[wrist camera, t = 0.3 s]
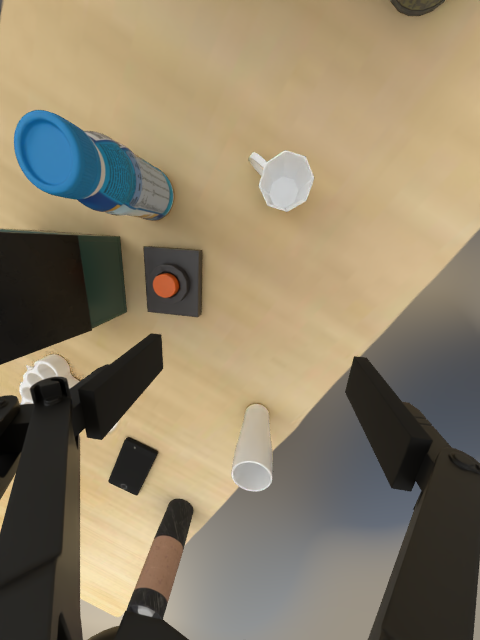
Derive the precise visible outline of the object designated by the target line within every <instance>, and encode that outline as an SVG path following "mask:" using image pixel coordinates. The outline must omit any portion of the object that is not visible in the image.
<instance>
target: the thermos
mask: <svg viewBox="0 0 480 640" xmlns="http://www.w3.org/2000/svg"><path fill="white" fill-rule="evenodd" d="M444 1H445V0H391V2H392V4H393V5H394V6H395V7H396V8H397V10H398V11H400V12H402V13H404V14H406V15H408V16H420V15H423V14H425V13H428V12H431V11H433V10H434V9H435V8H437V7H438V6H439V5H441V4H442V3H443V2H444Z"/></svg>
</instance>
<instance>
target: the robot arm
mask: <svg viewBox="0 0 480 640" xmlns="http://www.w3.org/2000/svg"><path fill="white" fill-rule="evenodd" d="M162 369H163V357H162V338H161V335H160V334H150V335H148V336H147V337H146V338H144V339H143V340H142V341H141V342H139V343H138V344H137V345H135V346H134V347H133V348H131V349H130V350H129V351H127V352H126V353H125V354H123V355H122V356H121V357H119V358H118V359H117V360H115V361H114V362H113V363H112V364H110V365H108V364H107V365H105V366H102V367H100V368H98V369H96V370H95V371H94V372H92V373H91V375H88V376H87V377H85V379H83V380H81V381H80V382H78V383H77V384H76V385H74V386H73V387H72V388H70V389H69V385H68V381H67V378H64V377H50V378H47V379H43V380H41V381H39V382H37V383H35V384H34V385H32V386H31V388H30V393H31V396H32V400H33V404H21V405H20V404H19V401H18V398H17V397H16V396H12V395H11V396H2V397H0V499H1V497H2V496H3V494H4V492H5V491H6V489H7V487H8V485H9V484H10V482H11V480H12V479H13V477H14V475H15V473H16V475H15V479H14V483H13V487H12V490H11V494H10V498H9V502H8V506H7V509H6V513H5V517H4V521H3V525H2V528H1V532H0V640H83V638H82V627H81V619H80V437H79V433H80V432H81V431H82V430H84V429H86V434H87V438H93V439H99V440H102V439H103V438H104V437H105V436H106V435H107V433H108V432H109V431H110V430H111V429H112V428H113V426H114V425H115V424H116V423H117V422H118V421H119V419H120V418H121V417H122V416H123V415H124V414H125V412H126V411H127V410H128V409H129V408H130V407H131V406H132V404H133V403H134V402H135V401H136V400H137V399H138V397H139V396H140V395H141V394H142V393H143V392H144V390H145V389H146V388H147V387H148V386H149V385H150V383H151V382H152V381H153V380H154V379H155V378H156V376H157V375H158V374H159V373H160V372H161V371H162ZM345 393H346V395H347V397H348V399H349V401H350V403H351V405H352V407H353V409H354V411H355V413H356V416H357V417H358V420H359V422H360V424H361V426H362V428H363V430H364V432H365V434H366V436H367V438H368V440H369V442H370V444H371V447H372V448H373V451H374V453H375V455H376V457H377V459H378V461H379V463H380V465H381V467H382V469H383V471H384V473H385V476H386V478H387V480H388V482H389V484H390V486H391V488H393V489H399V490H405V491H412V488H413V486H414V484H415V481H416V482H417V484H418V485H419V487H420V489H421V490H422V491H421V493H420V496H419V498H418V500H417V502H416V504H415V507H414V512H413V515H412V518H411V520H410V523H409V526H408V529H407V532H406V535H405V537H404V540H403V543H402V546H401V549H400V551H399V554H398V557H397V560H396V562H395V565H394V568H393V571H392V574H391V577H390V579H389V582H388V585H387V588H386V591H385V594H384V596H383V599H382V602H381V605H380V607H379V611H378V613H377V616H376V619H375V622H374V624H373V627H372V630H371V633H370V636H369V638H368V640H473V634H474V621H475V609H476V597H477V584H478V573H479V561H480V463H479V462H477V461H476V460H475V459H474V458H473V457H471V456H469V455H467V454H466V453H464V452H462V451H459V450H457V449H454V448H452V447H451V446H450V445H449V444H448V443H447V442H446V440H445V439H444V438H443V437H442V436H441V435H440V434H439V432H438V431H437V430H436V429H435V428H434V427H433V426H432V424H431V423H430V422H429V421H428V420H426V418H425V416H424V415H423V414H422V413H421V412H420V411H419V410H418V409H417V408H415V407H414V406H413V405H411V404H410V403H406V402H402V401H401V400H400V399H399V398H398V396H397V395H396V394H395V393H394V391H393V390H392V389H391V388H390V386H389V385H388V384H387V383H386V381H385V380H384V379H383V378H382V377H381V375H380V374H379V373H378V371H377V370H376V369H375V368H374V367H373V365H372V364H371V363H370V362H369V360H368V359H367V358H364V357H355V356H354V359H353V363H352V367H351V371H350V375H349V379H348V383H347V387H346V391H345ZM88 640H189V639H187V638H186V637H185V636H183V635H182V634H181V633H179V632H178V631H177V630H176V629H174V628H173V627H172V626H170V625H169V624H168V623H166V622H165V621H164V620H162V619H158V618H154V617H150V616H146V615H142V614H138V613H134V612H130V611H125V613H124V616H123V619H122V621H121V623H120V626H116V627H113V628H110V629H107V630H104V631H102V632H100V633H98V634H96V635H94V636H92V637H91V638H89V639H88Z"/></svg>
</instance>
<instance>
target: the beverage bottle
mask: <svg viewBox="0 0 480 640" xmlns="http://www.w3.org/2000/svg"><path fill="white" fill-rule="evenodd" d="M14 148H15V154H16V157H17V160H18V163H19V165H20V167H21V169H22V171H23V173H24V174H25V176H26V177H27V178H28V179H29V180H30V182H31V183H33V184H34V185H35V186H36V187H37V188H39V189H41V190H42V191H44V192H47V193H48V194H51V195H55V196H60V197H64V198H70V199H77V200H78V201H79V202H81V203H82V204H84V205H85V206H87V207H89V208H91V209H93V210H96V211H100V212H106V213H108V214H112V215H129V216H135V217H140V218H143V219H147V220H158V219H161V218H163V217H164V216H166V215H167V214H168V212H169V211H170V209H171V207H172V204H173V199H174V194H173V188H172V185H171V183H170V181H169V179H168V178H167V176H166V175H165V174H164V173H163V172H162V171H161V170H159V169H157V168H156V167H154V166H152V165H151V164H149V163H148V162H146V161H144V160H143V159H141V158H140V157H138V156H137V155H135V154H134V153H133V152H132V151H131V150H129V149H128V148H127V147H125V146H124V145H122V144H120V143H118V142H116V141H114V140H112V139H111V138H109V137H108V136H106V135H104V134H101V133H98V132H93V131H83V130H81V129H80V128H79V127H77V126H75V125H74V124H72V123H71V122H69V121H67V120H65V119H64V118H62V117H60V116H59V115H57V114H54V113H51V112H48V111H44V110H35V111H31V112H29V113H27V114H26V115H24V116H23V117H22V118H21V120H20V121H19V123H18V125H17V127H16V130H15V135H14Z"/></svg>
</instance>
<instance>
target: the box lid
mask: <svg viewBox="0 0 480 640" xmlns="http://www.w3.org/2000/svg"><path fill="white" fill-rule="evenodd" d="M91 330H92V327H91V320H90V313H89V307H88V300H87V293H86V287H85V280H84V274H83V267H82V260H81V254H80V247H79V240H78V235H64V234H41V233H18V232H0V365H1V364H4V363H6V362H9V361H12V360H14V359H17V358H19V357H22V356H25V355H27V354H30V353H33V352H35V351H38V350H41V349H43V348H46V347H49V346H51V345H54V344H57V343H59V342H62V341H65V340H67V339H70V338H72V337H75V336H78V335H80V334H83V333H86V332H88V331H91Z"/></svg>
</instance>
